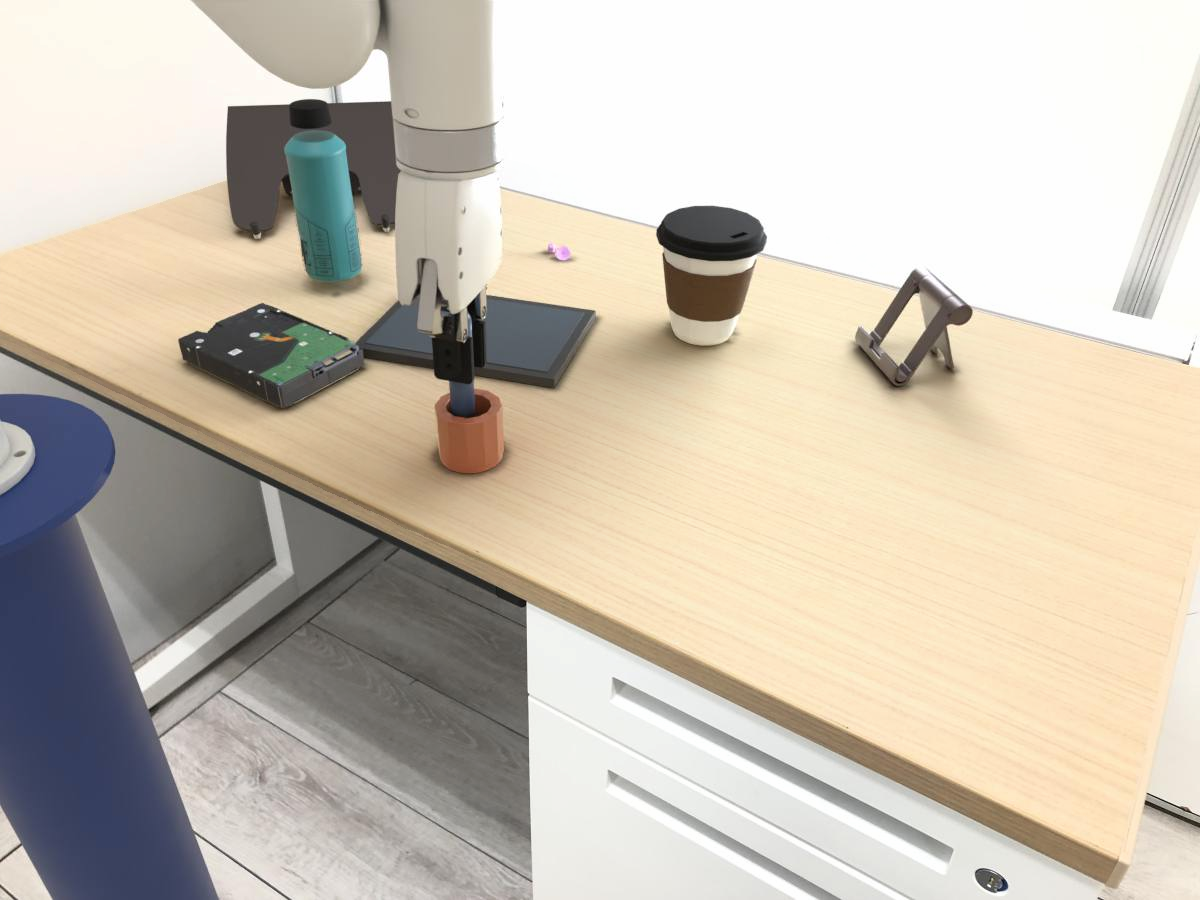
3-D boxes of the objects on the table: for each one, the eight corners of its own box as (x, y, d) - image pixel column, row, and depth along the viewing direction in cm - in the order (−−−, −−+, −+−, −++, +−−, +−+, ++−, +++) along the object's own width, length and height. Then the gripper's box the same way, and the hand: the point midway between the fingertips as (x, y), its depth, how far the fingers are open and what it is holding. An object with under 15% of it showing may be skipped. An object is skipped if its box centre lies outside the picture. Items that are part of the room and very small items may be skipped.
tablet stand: (852, 343, 100) (867, 269, 95) (921, 338, 101) (939, 264, 96) (890, 387, 93) (908, 309, 88) (964, 380, 94) (986, 303, 89)
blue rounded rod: (471, 446, 80) (465, 316, 73) (448, 442, 80) (440, 312, 73) (479, 433, 81) (474, 305, 74) (457, 429, 82) (450, 301, 75)
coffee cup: (775, 337, 100) (791, 228, 94) (700, 368, 95) (711, 255, 88) (703, 299, 107) (713, 195, 100) (629, 326, 102) (634, 218, 95)
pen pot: (490, 478, 79) (487, 428, 76) (429, 467, 80) (424, 417, 77) (512, 442, 83) (510, 394, 80) (454, 432, 84) (450, 384, 82)
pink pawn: (564, 268, 117) (573, 256, 117) (564, 263, 115) (573, 251, 115) (544, 255, 117) (553, 243, 117) (544, 249, 115) (552, 238, 116)
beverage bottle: (376, 282, 109) (355, 101, 97) (327, 301, 105) (299, 114, 93) (342, 265, 112) (317, 89, 101) (293, 283, 108) (262, 101, 97)
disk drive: (181, 365, 93) (284, 412, 86) (174, 339, 91) (279, 385, 85) (266, 325, 100) (368, 366, 93) (261, 300, 99) (364, 340, 92)
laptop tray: (237, 276, 123) (220, 227, 115) (238, 145, 133) (223, 92, 125) (419, 265, 127) (415, 217, 119) (406, 139, 137) (401, 87, 129)
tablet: (554, 388, 91) (554, 378, 90) (352, 355, 95) (351, 346, 94) (595, 318, 103) (595, 309, 102) (414, 292, 107) (413, 283, 106)
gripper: (443, 106, 73) (454, 321, 84) (346, 171, 61) (373, 414, 71) (536, 117, 72) (536, 335, 83) (457, 186, 59) (468, 432, 70)
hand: (460, 370), depth 77 cm, fingers closed on blue rounded rod, 2 cm apart
